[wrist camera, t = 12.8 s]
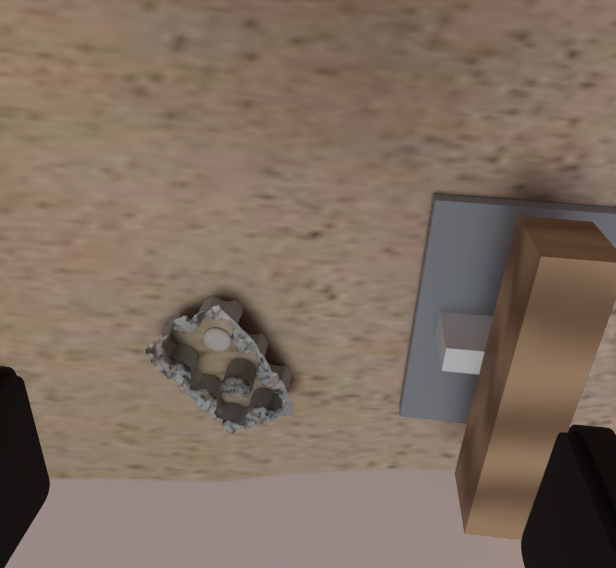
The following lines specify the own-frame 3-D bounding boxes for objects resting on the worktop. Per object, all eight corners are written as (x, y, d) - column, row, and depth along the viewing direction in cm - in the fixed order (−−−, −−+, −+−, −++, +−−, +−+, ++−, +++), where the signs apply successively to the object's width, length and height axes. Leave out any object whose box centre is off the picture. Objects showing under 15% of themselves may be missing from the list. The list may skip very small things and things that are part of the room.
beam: (517, 215, 31) (541, 256, 27) (592, 221, 31) (628, 263, 26) (454, 473, 41) (464, 533, 37) (511, 479, 41) (527, 540, 36)
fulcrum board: (433, 193, 37) (442, 228, 32) (624, 208, 36) (664, 245, 31) (399, 405, 46) (402, 458, 41) (552, 421, 45) (573, 476, 40)
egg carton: (155, 317, 44) (136, 348, 41) (236, 281, 42) (223, 310, 38) (228, 414, 48) (216, 449, 45) (305, 386, 46) (299, 421, 42)
